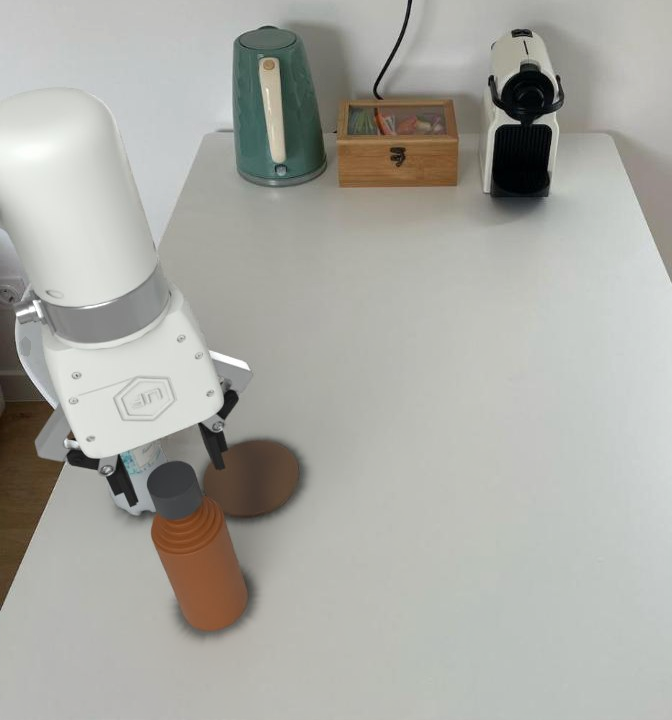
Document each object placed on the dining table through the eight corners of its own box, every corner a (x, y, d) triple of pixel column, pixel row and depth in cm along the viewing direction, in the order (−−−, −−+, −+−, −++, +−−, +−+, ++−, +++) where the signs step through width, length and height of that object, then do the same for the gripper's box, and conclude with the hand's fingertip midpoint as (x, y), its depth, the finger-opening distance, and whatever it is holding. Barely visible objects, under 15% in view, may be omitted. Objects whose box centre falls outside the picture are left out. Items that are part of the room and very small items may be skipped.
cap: (162, 527, 63) (153, 505, 61) (150, 494, 66) (141, 472, 64) (208, 508, 64) (201, 486, 62) (194, 476, 67) (187, 454, 65)
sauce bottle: (193, 642, 72) (144, 525, 60) (174, 590, 76) (124, 471, 64) (257, 612, 74) (221, 493, 62) (235, 563, 78) (197, 442, 66)
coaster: (221, 533, 81) (220, 529, 80) (192, 465, 87) (190, 462, 87) (313, 493, 84) (313, 489, 84) (278, 431, 91) (277, 427, 90)
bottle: (165, 526, 82) (109, 385, 68) (103, 519, 83) (35, 378, 69) (189, 474, 86) (141, 333, 73) (130, 468, 87) (71, 327, 74)
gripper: (-34, 378, 45) (70, 559, 58) (255, 280, 51) (294, 464, 63) (-48, 306, 50) (51, 486, 63) (217, 223, 56) (260, 404, 68)
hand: (173, 473), depth 63 cm, fingers open, 6 cm apart
